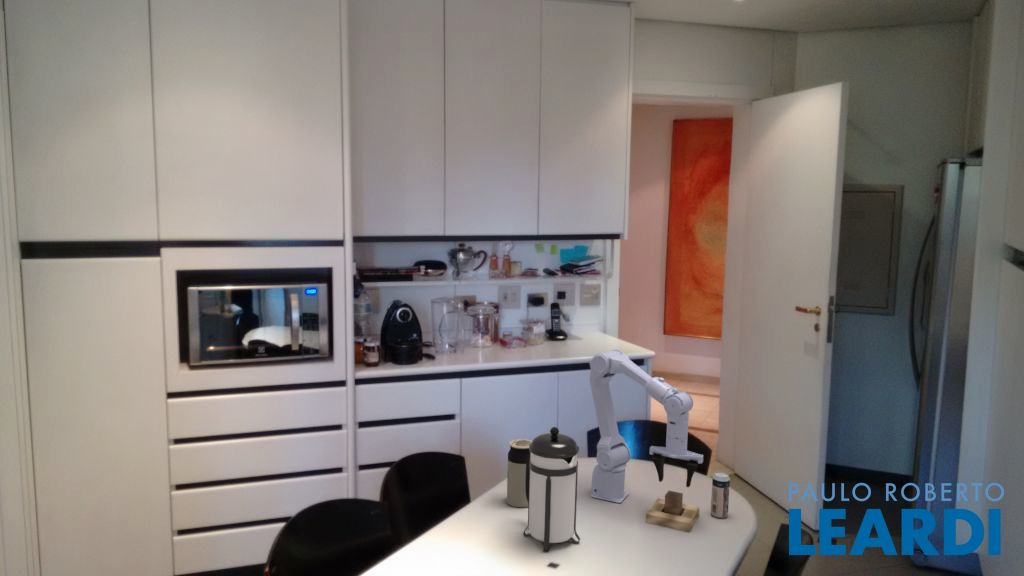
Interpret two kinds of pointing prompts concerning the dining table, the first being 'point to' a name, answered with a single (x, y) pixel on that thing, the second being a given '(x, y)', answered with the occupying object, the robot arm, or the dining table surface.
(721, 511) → the beer can
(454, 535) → the dining table surface
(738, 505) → the dining table surface
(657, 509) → the oak socket block
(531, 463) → the coffee press
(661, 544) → the dining table surface
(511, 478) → the travel mug
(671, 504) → the walnut peg
